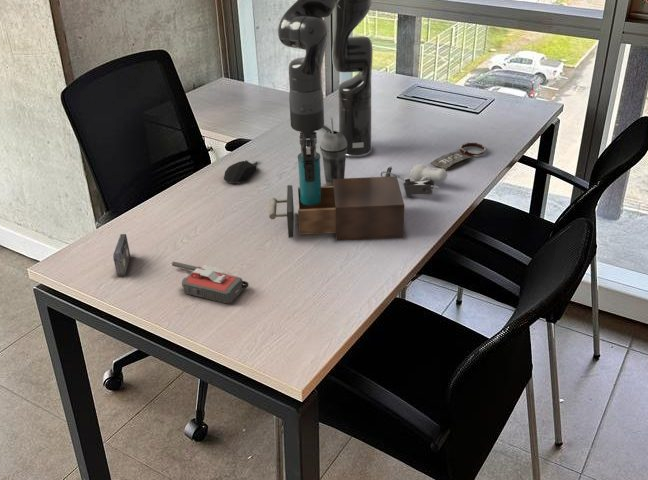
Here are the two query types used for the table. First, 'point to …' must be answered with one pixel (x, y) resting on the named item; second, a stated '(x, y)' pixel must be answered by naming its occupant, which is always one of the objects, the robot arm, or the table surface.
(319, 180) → the tin
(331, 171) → the beverage cup
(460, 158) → the keychain
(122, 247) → the mini dv tape
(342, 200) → the cabinet
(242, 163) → the gaming mouse
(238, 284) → the walkie-talkie
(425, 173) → the clip-on lamp
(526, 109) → the table surface
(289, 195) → the drawer
